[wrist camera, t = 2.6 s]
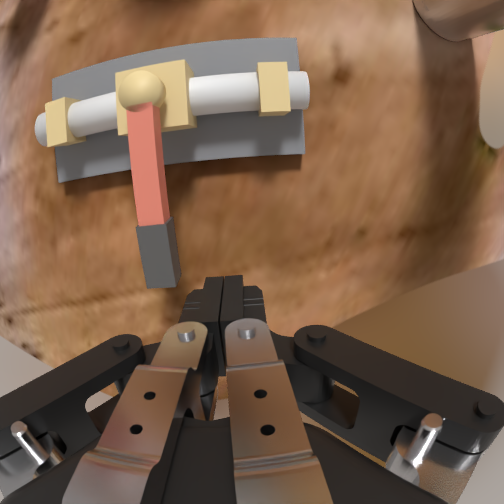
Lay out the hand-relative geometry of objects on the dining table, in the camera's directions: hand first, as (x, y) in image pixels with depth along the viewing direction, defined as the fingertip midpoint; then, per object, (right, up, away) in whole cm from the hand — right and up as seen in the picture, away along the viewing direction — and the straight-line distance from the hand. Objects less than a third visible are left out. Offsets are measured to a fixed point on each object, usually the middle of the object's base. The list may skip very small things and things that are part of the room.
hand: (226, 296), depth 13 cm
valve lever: (-7, +8, +10) cm, 14 cm away
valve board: (-7, +16, +15) cm, 23 cm away
